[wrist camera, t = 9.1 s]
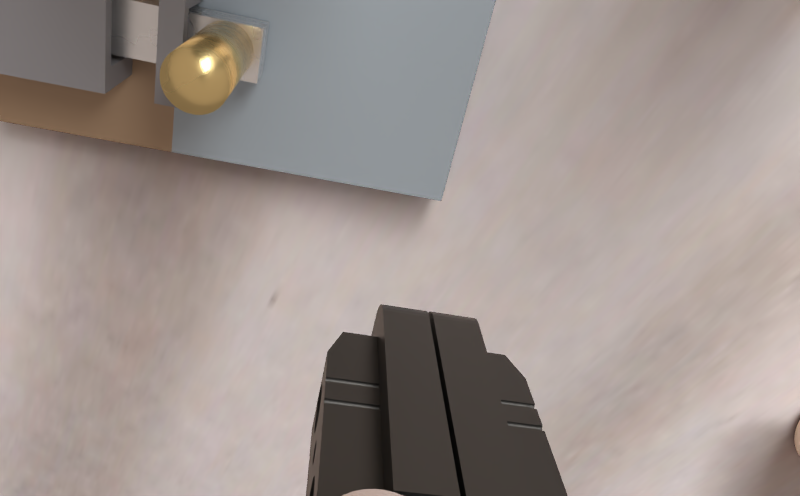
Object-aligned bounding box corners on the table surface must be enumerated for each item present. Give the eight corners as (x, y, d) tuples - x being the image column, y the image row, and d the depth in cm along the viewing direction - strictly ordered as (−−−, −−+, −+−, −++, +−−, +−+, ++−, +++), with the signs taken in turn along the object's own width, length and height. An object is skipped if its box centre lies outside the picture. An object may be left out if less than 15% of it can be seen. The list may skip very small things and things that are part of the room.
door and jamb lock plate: (497, -42, 30) (526, -34, 25) (436, 186, 36) (450, 231, 31) (5, -164, 27) (-75, -182, 22) (19, 109, 32) (-43, 145, 27)
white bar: (269, 22, 29) (241, 56, 22) (262, 73, 30) (234, 122, 23) (36, -29, 27) (-74, -10, 20) (38, 28, 28) (-66, 64, 21)
